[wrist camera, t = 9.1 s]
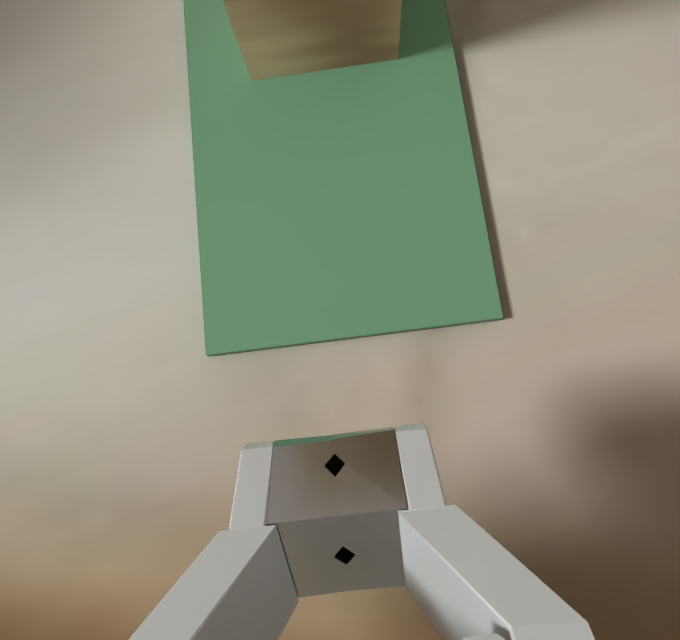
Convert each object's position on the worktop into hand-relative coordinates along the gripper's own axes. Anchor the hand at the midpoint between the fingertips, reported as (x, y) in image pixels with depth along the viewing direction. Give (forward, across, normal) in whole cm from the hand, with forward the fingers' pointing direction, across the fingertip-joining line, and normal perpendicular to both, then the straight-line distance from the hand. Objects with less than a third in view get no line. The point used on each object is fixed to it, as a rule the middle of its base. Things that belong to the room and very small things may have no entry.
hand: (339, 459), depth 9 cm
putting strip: (+17, 0, -7) cm, 18 cm away
